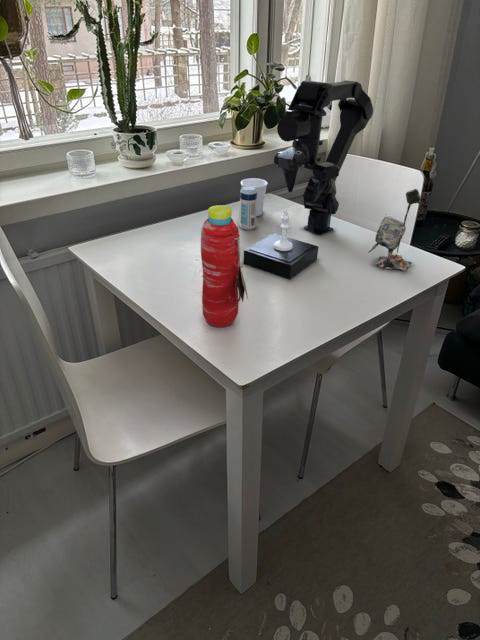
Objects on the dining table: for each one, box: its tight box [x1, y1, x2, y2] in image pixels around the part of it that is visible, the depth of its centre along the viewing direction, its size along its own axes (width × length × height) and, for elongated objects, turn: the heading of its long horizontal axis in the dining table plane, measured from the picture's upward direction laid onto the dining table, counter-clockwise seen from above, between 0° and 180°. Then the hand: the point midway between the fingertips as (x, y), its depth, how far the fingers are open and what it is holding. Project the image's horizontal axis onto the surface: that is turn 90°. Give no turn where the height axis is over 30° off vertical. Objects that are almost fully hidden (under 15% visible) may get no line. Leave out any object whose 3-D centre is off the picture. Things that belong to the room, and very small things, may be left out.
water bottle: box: [200, 204, 249, 328], centre depth 96 cm, size 12×8×25 cm, turn 51°
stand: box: [242, 232, 319, 281], centre depth 126 cm, size 14×14×4 cm
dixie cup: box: [240, 177, 268, 217], centre depth 154 cm, size 8×8×10 cm
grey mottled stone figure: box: [367, 188, 422, 272], centre depth 122 cm, size 8×11×20 cm
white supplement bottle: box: [239, 186, 257, 231], centre depth 143 cm, size 5×5×12 cm
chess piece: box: [274, 208, 293, 251], centre depth 123 cm, size 5×5×10 cm
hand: (302, 196), depth 132 cm, fingers open, 9 cm apart
